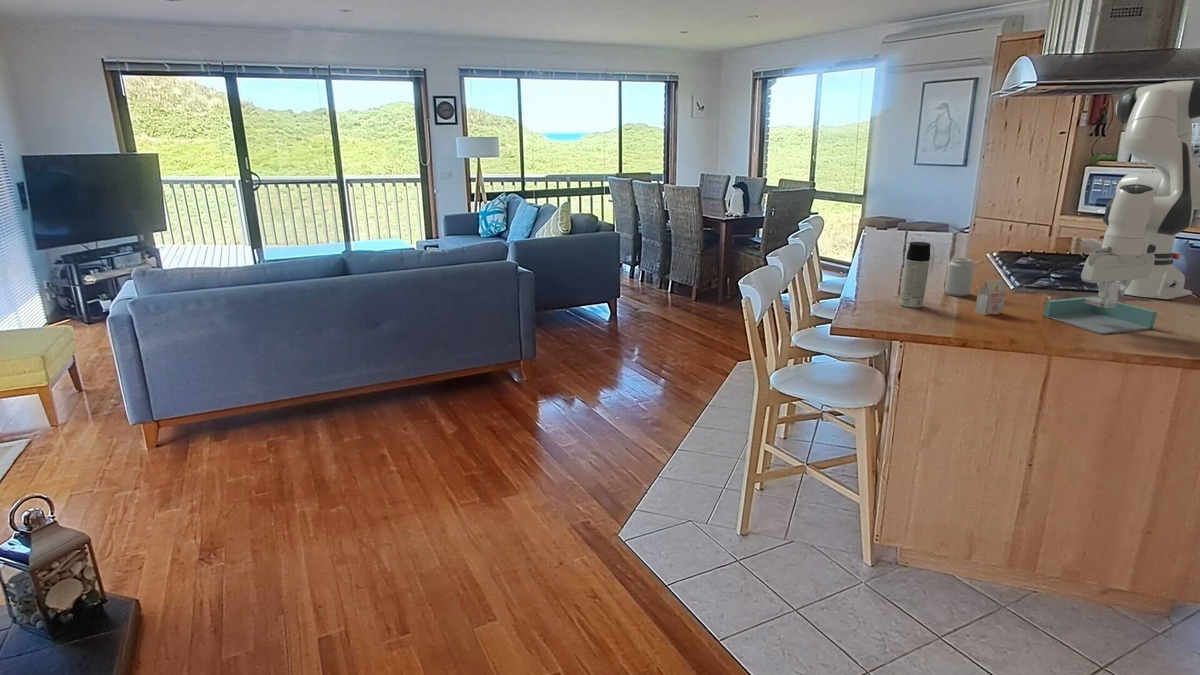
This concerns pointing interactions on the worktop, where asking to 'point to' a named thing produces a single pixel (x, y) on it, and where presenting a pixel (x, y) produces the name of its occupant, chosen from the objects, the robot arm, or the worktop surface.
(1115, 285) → the bracket
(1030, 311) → the worktop surface
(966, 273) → the can
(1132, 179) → the robot arm
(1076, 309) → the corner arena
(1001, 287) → the milk carton
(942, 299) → the worktop surface
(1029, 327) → the worktop surface
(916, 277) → the spray can
